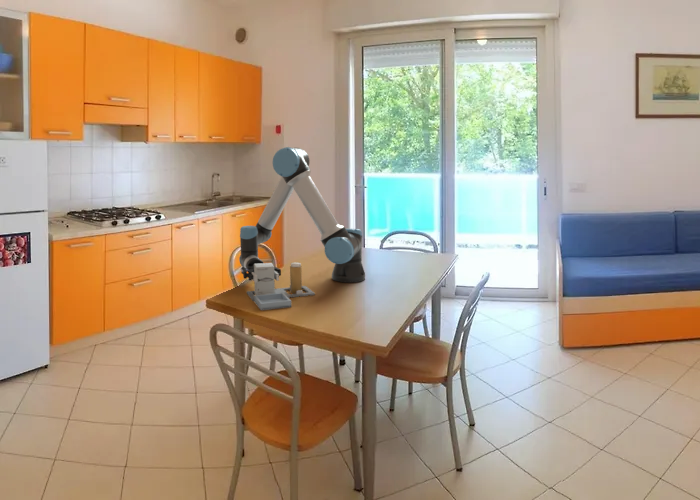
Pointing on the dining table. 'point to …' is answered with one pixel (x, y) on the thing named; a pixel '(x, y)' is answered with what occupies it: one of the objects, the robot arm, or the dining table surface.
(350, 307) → the dining table surface
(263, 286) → the supplement box
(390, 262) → the dining table surface
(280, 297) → the tray
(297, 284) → the amber bottle
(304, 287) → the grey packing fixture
